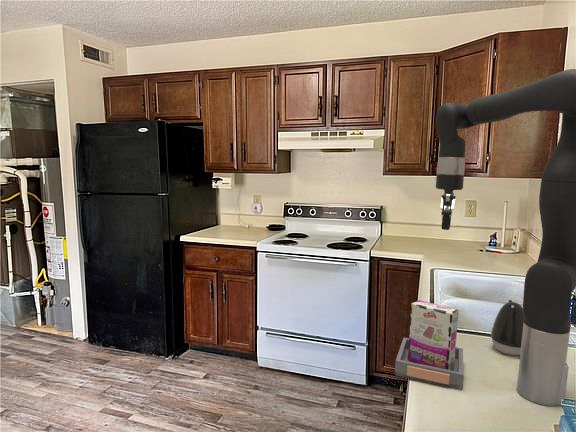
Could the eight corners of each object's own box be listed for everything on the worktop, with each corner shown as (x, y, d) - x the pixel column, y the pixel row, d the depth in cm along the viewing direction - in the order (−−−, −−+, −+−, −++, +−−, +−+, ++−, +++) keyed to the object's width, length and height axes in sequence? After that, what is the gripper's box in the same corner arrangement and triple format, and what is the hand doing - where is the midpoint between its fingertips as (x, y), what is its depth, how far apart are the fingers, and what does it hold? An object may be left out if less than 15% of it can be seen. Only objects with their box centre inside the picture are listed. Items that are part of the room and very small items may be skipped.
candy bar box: (454, 369, 106) (459, 309, 104) (447, 375, 102) (452, 313, 100) (414, 354, 114) (418, 298, 112) (406, 360, 110) (410, 302, 108)
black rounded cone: (524, 347, 123) (529, 299, 121) (532, 362, 113) (537, 310, 112) (487, 341, 127) (492, 294, 125) (492, 355, 117) (496, 305, 115)
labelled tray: (461, 362, 112) (462, 348, 112) (461, 391, 97) (463, 375, 97) (402, 350, 118) (403, 337, 118) (394, 376, 103) (395, 361, 103)
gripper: (464, 173, 110) (459, 232, 112) (463, 173, 123) (459, 226, 125) (435, 172, 113) (431, 229, 115) (437, 172, 126) (434, 224, 128)
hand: (446, 227), depth 120 cm, fingers open, 8 cm apart
